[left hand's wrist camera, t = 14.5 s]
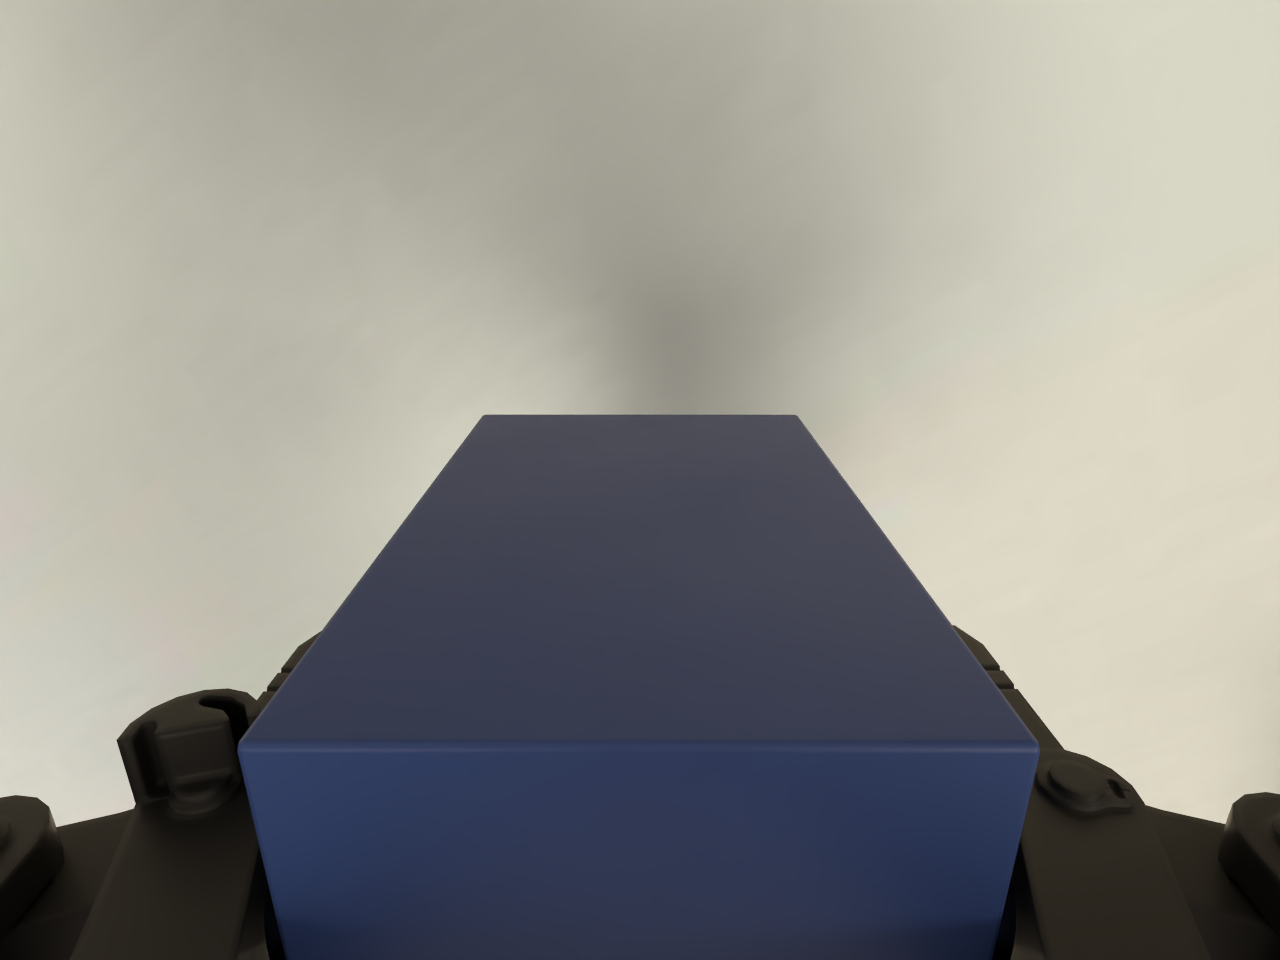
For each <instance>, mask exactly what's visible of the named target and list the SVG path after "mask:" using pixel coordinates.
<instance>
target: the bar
mask: <svg viewBox="0 0 1280 960" xmlns="http://www.w3.org/2000/svg"><path fill="white" fill-rule="evenodd" d="M237 752H238V756H239V761H240V765H241V769H242V774H243V778H244V782H245V786H246V791H247V795H248V799H249V804H250V808H251V812H252V817H253V821H254V825H255V829H256V834H257V838H258V842H259V847H260V851H261V855H262V859H263V864H264V868H265V872H266V877H267V881H268V885H269V889H270V894H271V898H272V902H273V907H274V911H275V915H276V919H277V924H278V928H279V932H280V937H281V941H282V945H283V950H284V954H285V958H286V960H992V958H993V953H994V949H995V945H996V940H997V936H998V932H999V927H1000V923H1001V919H1002V914H1003V910H1004V906H1005V901H1006V897H1007V893H1008V889H1009V884H1010V880H1011V876H1012V871H1013V867H1014V863H1015V858H1016V854H1017V850H1018V845H1019V841H1020V837H1021V832H1022V828H1023V824H1024V820H1025V815H1026V811H1027V807H1028V802H1029V798H1030V794H1031V789H1032V785H1033V781H1034V776H1035V772H1036V768H1037V763H1038V759H1039V755H1040V747H1039V744H1038V741H1037V740H1036V738H1035V737H1034V736H1033V734H1032V733H1031V732H1030V730H1029V729H1028V728H1027V726H1026V725H1025V724H1024V722H1023V721H1022V720H1021V718H1020V717H1019V715H1018V714H1017V713H1016V711H1015V710H1014V709H1013V707H1012V706H1011V705H1010V703H1009V702H1008V701H1007V699H1006V698H1005V696H1004V695H1003V694H1002V692H1001V691H1000V690H999V688H998V687H997V686H996V684H995V683H994V682H993V680H992V679H991V678H990V676H989V675H988V673H987V672H986V671H985V669H984V668H983V667H982V665H981V664H980V663H979V661H978V660H977V659H976V657H975V656H974V655H973V653H972V652H971V650H970V649H969V648H968V646H967V645H966V644H965V642H964V641H963V640H962V638H961V637H960V636H959V634H958V633H957V632H956V630H955V629H954V627H953V626H952V625H951V623H950V622H949V621H948V619H947V618H946V617H945V615H944V614H943V613H942V611H941V610H940V608H939V607H938V606H937V604H936V603H935V602H934V600H933V599H932V598H931V596H930V595H929V594H928V592H927V591H926V590H925V588H924V587H923V585H922V584H921V583H920V581H919V580H918V579H917V577H916V576H915V575H914V573H913V572H912V571H911V569H910V568H909V567H908V565H907V564H906V562H905V561H904V560H903V558H902V557H901V556H900V554H899V553H898V552H897V550H896V549H895V548H894V546H893V545H892V543H891V542H890V541H889V539H888V538H887V537H886V535H885V534H884V533H883V531H882V530H881V529H880V527H879V526H878V525H877V523H876V522H875V520H874V519H873V518H872V516H871V515H870V514H869V512H868V511H867V510H866V508H865V507H864V506H863V504H862V503H861V502H860V500H859V499H858V497H857V496H856V495H855V493H854V492H853V491H852V489H851V488H850V487H849V485H848V484H847V483H846V481H845V480H844V478H843V477H842V476H841V474H840V473H839V472H838V470H837V469H836V468H835V466H834V465H833V464H832V462H831V461H830V460H829V458H828V457H827V455H826V454H825V453H824V451H823V450H822V449H821V447H820V446H819V445H818V443H817V442H816V441H815V439H814V438H813V437H812V435H811V434H810V432H809V431H808V430H807V428H806V427H805V426H804V424H803V423H802V422H801V420H800V419H799V418H798V416H796V415H484V416H482V418H481V419H480V420H479V422H478V423H477V424H476V426H475V427H474V428H473V430H472V431H471V432H470V434H469V435H468V436H467V438H466V439H465V440H464V442H463V443H462V444H461V446H460V447H459V448H458V450H457V451H456V452H455V454H454V455H453V456H452V458H451V459H450V460H449V462H448V463H447V464H446V466H445V467H444V468H443V470H442V471H441V472H440V474H439V475H438V476H437V478H436V479H435V480H434V482H433V483H432V484H431V486H430V487H429V488H428V490H427V491H426V492H425V494H424V495H423V496H422V498H421V499H420V500H419V502H418V503H417V504H416V506H415V507H414V508H413V510H412V511H411V512H410V514H409V515H408V516H407V518H406V519H405V521H404V522H403V523H402V525H401V526H400V527H399V529H398V530H397V531H396V533H395V534H394V535H393V537H392V538H391V539H390V541H389V542H388V543H387V545H386V546H385V547H384V549H383V550H382V551H381V553H380V554H379V555H378V557H377V558H376V559H375V561H374V562H373V563H372V565H371V566H370V567H369V569H368V570H367V571H366V573H365V574H364V575H363V577H362V578H361V579H360V581H359V582H358V583H357V585H356V586H355V587H354V589H353V590H352V591H351V593H350V594H349V595H348V597H347V598H346V599H345V601H344V602H343V603H342V605H341V606H340V607H339V609H338V610H337V611H336V613H335V614H334V615H333V617H332V618H331V619H330V621H329V622H328V623H327V625H326V626H325V627H324V629H323V630H322V631H321V633H320V634H319V635H318V637H317V638H316V639H315V641H314V642H313V643H312V645H311V646H310V647H309V649H308V650H307V652H306V653H305V654H304V656H303V657H302V658H301V660H300V661H299V662H298V664H297V665H296V666H295V668H294V669H293V670H292V672H291V673H290V674H289V676H288V677H287V678H286V680H285V681H284V682H283V684H282V685H281V686H280V688H279V689H278V690H277V692H276V693H275V694H274V696H273V697H272V698H271V700H270V701H269V702H268V704H267V705H266V706H265V708H264V709H263V710H262V712H261V713H260V714H259V716H258V717H257V718H256V720H255V721H254V722H253V724H252V725H251V726H250V728H249V729H248V730H247V732H246V733H245V734H244V736H243V737H242V738H241V740H240V741H239V745H238V750H237Z"/></svg>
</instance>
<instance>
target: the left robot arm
mask: <svg viewBox="0 0 1280 960" xmlns="http://www.w3.org/2000/svg"><path fill="white" fill-rule="evenodd" d="M952 626H953V627H954V629H955V630H956V632H957V633H958V634H959V636H960V637H961V638H962V640H963V641H964V642H965V644H966V645H967V646H968V648H969V649H970V650H971V652H972V653H973V655H974V656H975V657H976V659H977V660H978V661H979V663H980V664H981V665H982V667H983V668H984V669H985V671H986V672H987V673H988V675H989V676H990V678H991V679H992V680H993V682H994V683H995V684H996V686H997V687H998V688H999V690H1000V691H1001V692H1002V694H1003V695H1004V696H1005V698H1006V699H1007V701H1008V702H1009V703H1010V705H1011V706H1012V707H1013V709H1014V710H1015V711H1016V713H1017V714H1018V715H1019V717H1020V718H1021V720H1022V721H1023V722H1024V724H1025V725H1026V726H1027V728H1028V729H1029V730H1030V732H1031V733H1032V734H1033V736H1034V737H1035V738H1036V740H1037V741H1038V744H1039V747H1040V755H1039V759H1038V763H1037V768H1036V772H1035V776H1034V781H1033V785H1032V789H1031V794H1030V798H1029V802H1028V807H1027V811H1026V815H1025V820H1024V824H1023V828H1022V832H1021V837H1020V841H1019V845H1018V850H1017V854H1016V858H1015V863H1014V867H1013V871H1012V876H1011V880H1010V884H1009V889H1008V893H1007V897H1006V901H1005V906H1004V910H1003V914H1002V919H1001V923H1000V927H999V932H998V936H997V940H996V945H995V949H994V953H993V958H992V960H1280V794H1274V793H1268V792H1263V793H1254V794H1245V795H1244V796H1242V797H1241V798H1240V799H1238V800H1237V801H1236V802H1234V803H1233V805H1232V808H1231V810H1230V813H1229V816H1228V819H1227V822H1226V824H1222V823H1217V822H1213V821H1208V820H1204V819H1199V818H1195V817H1191V816H1186V815H1182V814H1177V813H1173V812H1168V811H1164V810H1160V809H1157V808H1153V807H1150V806H1146V805H1145V804H1144V802H1143V801H1142V799H1141V798H1140V796H1139V795H1138V793H1137V792H1136V791H1135V789H1134V788H1133V786H1132V785H1131V784H1130V783H1128V782H1127V781H1126V780H1125V779H1123V778H1122V777H1121V776H1120V775H1118V774H1117V773H1116V772H1115V771H1113V770H1112V769H1111V768H1109V767H1107V766H1105V765H1103V764H1101V763H1099V762H1097V761H1095V760H1093V759H1091V758H1089V757H1087V756H1084V755H1080V754H1077V753H1073V752H1070V751H1067V750H1064V748H1063V747H1062V746H1061V745H1060V743H1059V742H1058V741H1057V739H1056V738H1055V737H1054V736H1053V734H1052V733H1051V732H1050V730H1049V729H1048V728H1047V727H1046V725H1045V724H1044V723H1043V721H1042V720H1041V719H1040V718H1039V716H1038V715H1037V714H1036V712H1035V711H1034V710H1033V708H1032V707H1031V706H1030V705H1029V703H1028V702H1027V701H1026V699H1025V698H1024V697H1023V696H1022V694H1021V693H1020V692H1019V690H1018V689H1014V684H1013V683H1012V681H1011V680H1010V679H1009V678H1008V676H1007V675H1006V674H1005V672H1004V671H1000V666H999V665H998V663H997V662H996V661H995V659H994V658H993V657H992V656H991V654H990V653H989V652H988V650H987V649H986V648H985V647H984V645H983V644H982V643H980V642H979V641H977V640H976V639H974V638H973V637H971V636H970V635H968V634H967V633H965V632H964V631H962V630H961V629H959V628H958V627H956V626H955V625H952ZM320 633H321V632H319V633H318V634H316V635H315V636H313V637H312V638H310V639H309V640H307V641H306V642H304V643H303V644H302V645H300V646H299V647H298V648H297V649H296V650H295V652H294V653H293V654H292V655H291V657H290V658H289V659H288V661H287V662H286V663H285V665H284V666H283V667H282V668H281V673H278V674H277V675H276V676H275V678H274V679H273V680H272V681H271V683H270V684H269V685H268V687H267V692H263V693H262V694H261V696H260V697H259V698H258V700H255V699H254V698H253V697H252V696H251V695H249V694H248V693H247V692H242V691H237V690H233V689H214V690H203V691H199V692H195V693H191V694H187V695H183V696H179V697H176V698H174V699H172V700H170V701H167V702H165V703H163V704H161V705H158V706H156V707H154V708H152V709H150V710H149V711H147V712H146V713H145V714H143V715H142V716H140V717H139V718H137V719H136V720H135V721H133V722H132V723H130V724H129V726H128V727H127V728H126V729H125V731H124V732H123V733H122V734H121V735H120V737H119V738H118V739H117V743H118V746H119V750H120V753H121V756H122V760H123V763H124V766H125V769H126V773H127V776H128V779H129V783H130V786H131V789H132V793H133V796H134V799H135V802H136V805H135V807H134V809H131V810H128V811H125V812H121V813H117V814H113V815H109V816H104V817H100V818H95V819H91V820H86V821H82V822H78V823H73V824H69V825H64V826H60V827H56V825H55V822H54V820H53V817H52V814H51V811H50V808H49V807H48V806H47V805H46V804H45V803H43V802H42V801H41V800H39V799H38V798H35V797H26V796H18V795H15V796H9V797H2V798H0V960H286V958H285V954H284V950H283V945H282V941H281V937H280V932H279V928H278V924H277V919H276V915H275V911H274V907H273V902H272V898H271V894H270V889H269V885H268V881H267V877H266V872H265V868H264V864H263V859H262V855H261V851H260V847H259V842H258V838H257V834H256V829H255V825H254V821H253V817H252V812H251V808H250V804H249V799H248V795H247V791H246V786H245V782H244V778H243V774H242V769H241V765H240V761H239V756H238V752H237V750H238V745H239V741H240V740H241V738H242V737H243V736H244V734H245V733H246V732H247V730H248V729H249V728H250V726H251V725H252V724H253V722H254V721H255V720H256V718H257V717H258V716H259V714H260V713H261V712H262V710H263V709H264V708H265V706H266V705H267V704H268V702H269V701H270V700H271V698H272V697H273V696H274V694H275V693H276V692H277V690H278V689H279V688H280V686H281V685H282V684H283V682H284V681H285V680H286V678H287V677H288V676H289V674H290V673H291V672H292V670H293V669H294V668H295V666H296V665H297V664H298V662H299V661H300V660H301V658H302V657H303V656H304V654H305V653H306V652H307V650H308V649H309V647H310V646H311V645H312V643H313V642H314V641H315V639H316V638H317V637H318V635H319V634H320Z"/></svg>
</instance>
